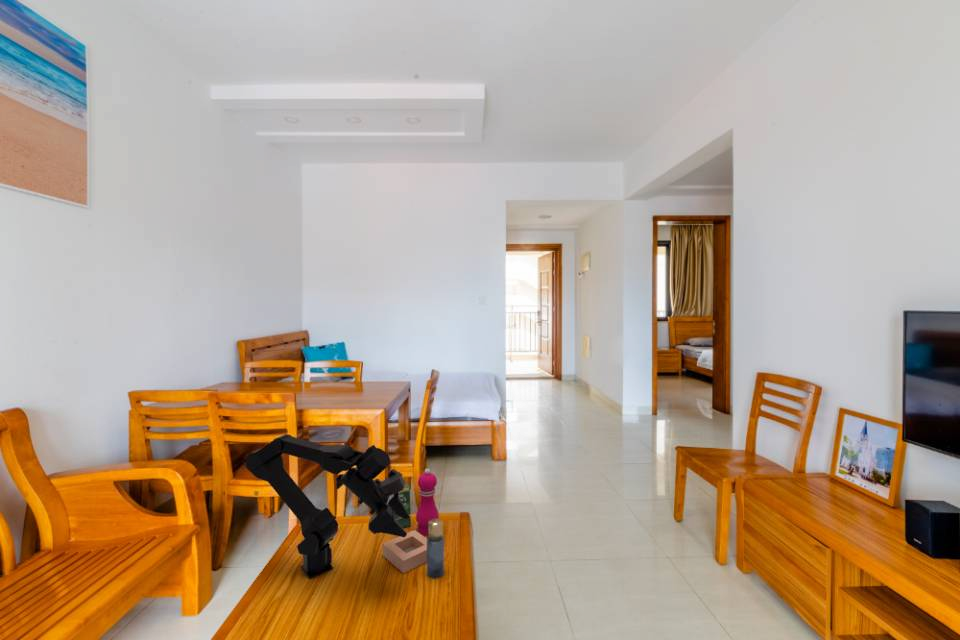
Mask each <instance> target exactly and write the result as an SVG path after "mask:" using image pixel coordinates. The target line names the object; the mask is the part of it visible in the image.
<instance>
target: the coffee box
mask: <svg viewBox="0 0 960 640" xmlns="http://www.w3.org/2000/svg"><path fill="white" fill-rule="evenodd" d="M410 489H411V488H410V486H409V484H408V483H407V484H404V489H403V490H402V491H400V492H399V499H400V501H401V503H402V504H403V506H404V508H405V509H406V511H407V513H408V514H409V515H410V516H409V518H408V519H405V518H402V517H400V516H398V515H396V514H395V519H396V520H397V522H398V523H399V524H400V525H401V526H402V528H403V529H404V528H408V527H411V525H412V523H411V522H412V521H411V520H412V519H411V517H412V515H411V492H410Z"/></svg>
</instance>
